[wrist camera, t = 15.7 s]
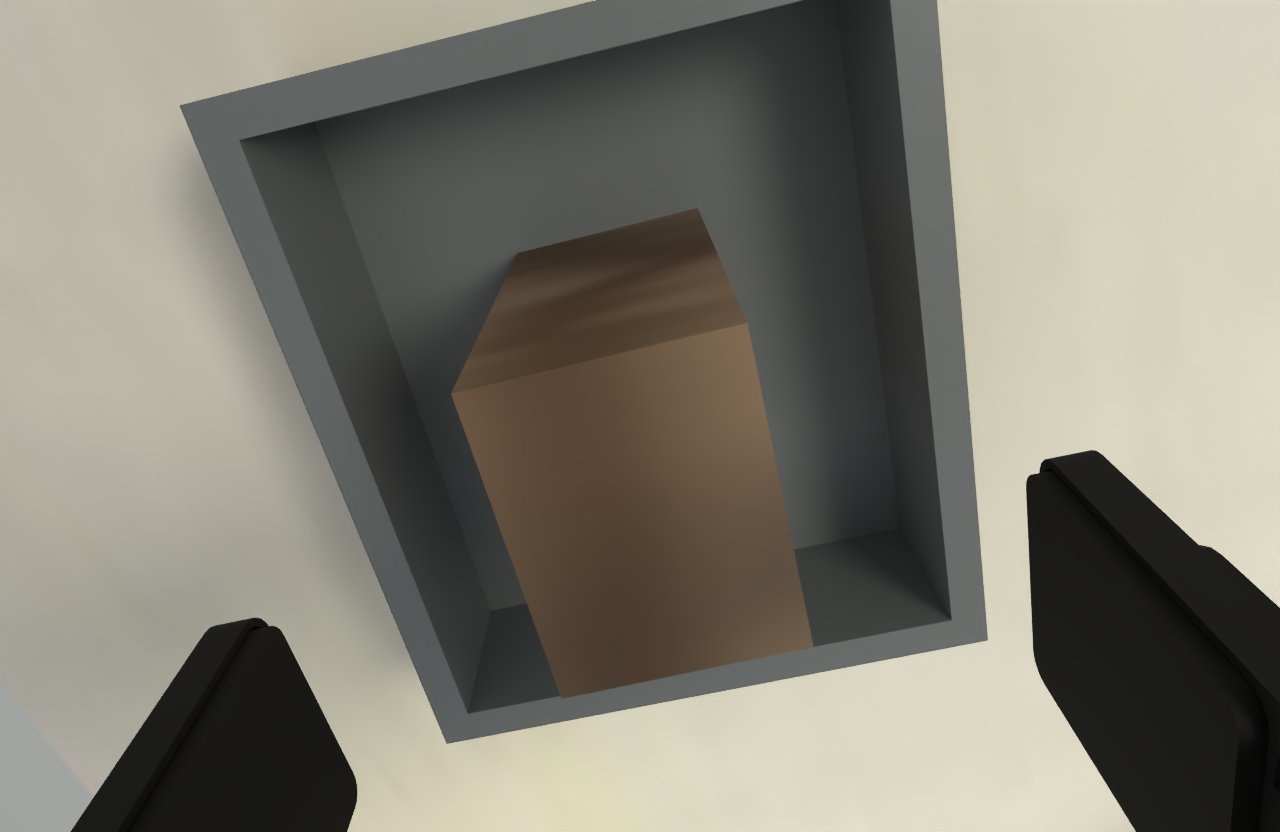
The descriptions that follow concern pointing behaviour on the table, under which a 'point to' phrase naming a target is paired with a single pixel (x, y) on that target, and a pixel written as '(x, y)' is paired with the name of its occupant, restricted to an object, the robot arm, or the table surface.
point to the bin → (600, 201)
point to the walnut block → (633, 458)
